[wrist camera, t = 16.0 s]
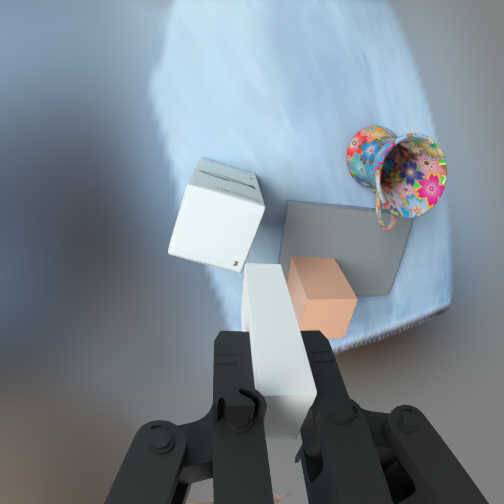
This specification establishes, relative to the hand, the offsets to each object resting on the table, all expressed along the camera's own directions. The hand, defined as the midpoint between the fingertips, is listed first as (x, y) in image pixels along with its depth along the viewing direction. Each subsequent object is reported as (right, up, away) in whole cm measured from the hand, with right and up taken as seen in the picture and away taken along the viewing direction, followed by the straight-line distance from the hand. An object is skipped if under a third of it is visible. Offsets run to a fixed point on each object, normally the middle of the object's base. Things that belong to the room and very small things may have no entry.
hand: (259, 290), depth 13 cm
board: (+13, +2, +30) cm, 33 cm away
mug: (+16, +13, +24) cm, 32 cm away
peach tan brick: (+8, -2, +30) cm, 31 cm away
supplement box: (-4, +9, +25) cm, 27 cm away
